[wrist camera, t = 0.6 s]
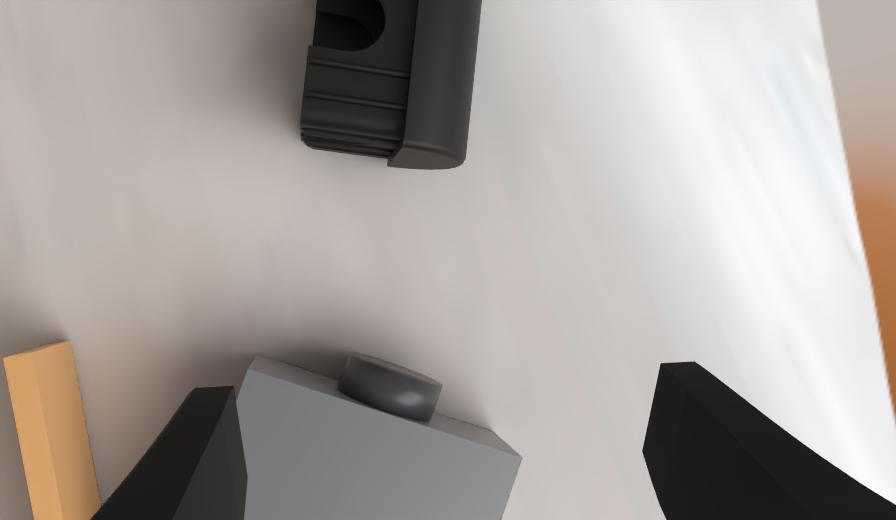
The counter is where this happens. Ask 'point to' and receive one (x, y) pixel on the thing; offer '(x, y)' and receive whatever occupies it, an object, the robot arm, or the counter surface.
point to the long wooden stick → (52, 433)
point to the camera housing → (364, 447)
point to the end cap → (392, 80)
